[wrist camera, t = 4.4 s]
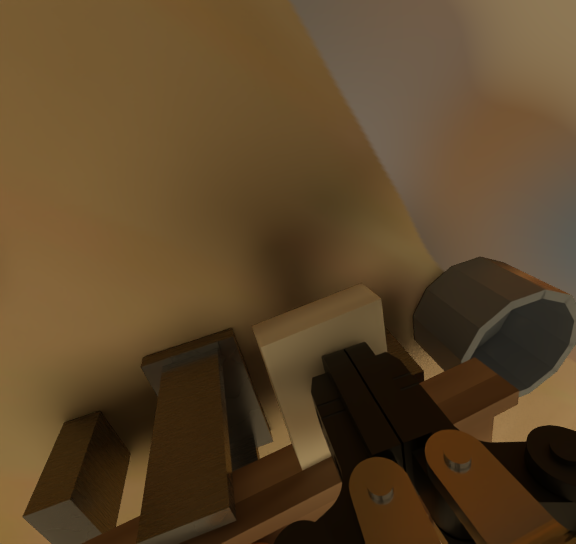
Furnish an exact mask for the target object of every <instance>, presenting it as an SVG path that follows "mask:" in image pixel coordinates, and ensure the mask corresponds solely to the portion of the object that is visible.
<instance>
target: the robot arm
mask: <svg viewBox="0 0 576 544" xmlns="http://www.w3.org/2000/svg"><path fill="white" fill-rule="evenodd" d="M321 358H322V362H323V366H324V371H325V373H324V374H321V375H318V376H315V377H312V385H311V395H312V398H313V402H314V406H315V410H316V413H317V417H318V421H319V424H320V427H321V430H322V432H323V435H324V437H325V440H326V443H327V445H328V448H329V451H330V453H331V456H332V458H333V461H334V464H335V466H336V469H337V472H338V474H339V477H340V480H341V482H342V487H341V491H340V494H339V496H338V498H337V500H336V501H335V503H334V504H333V505H332V507H331V508H330V509H329V510H328V511H326V512H325V513H324V514H323V515H322V516H321V517H320V518H319V519H318V520H317V521H316V522H313V521H310V520H300V521H296V522H293V523H291V524H290V525H288V526H287V527H285V528H284V529H283V530H282V531H281V532H280V533H279V535H278V536H277V538H276V539H275V542H274V544H441V543H442V544H576V431H573V430H570V429H567V428H564V427H560V426H551V425H547V426H541V427H537V428H535V429H533V430H532V431H531V432H530V433H529V435H528V437H527V441H526V442H498V443H495V442H484V441H480V440H477V439H476V438H474V437H473V436H471V435H469V434H467V433H465V432H462V431H460V430H459V429H457V428H456V427H455V426H454V425H453V424H452V423H451V421H450V420H449V419H448V418H447V416H446V415H445V414H444V413H443V412H442V410H441V409H440V408H439V407H438V405H437V404H436V403H435V402H434V401H433V399H432V398H431V397H430V396H429V394H428V393H427V392H426V391H425V390H424V388H423V387H422V386H421V385H419V383H418V381H417V380H416V379H415V377H414V376H413V375H411V373H410V371H409V370H408V369H407V368H406V366H405V365H404V364H403V363H402V361H401V360H400V359H398V358H396V357H394V356H393V355H391V354H389V353H387V352H384V353H381V354H378V355H375V354H374V352H373V351H372V350H371V348H370V347H369V346H368V344H367V343H366V342H362V343H359V344H356V345H353V346H350V347H347V348H344V349H342V350H339V351H336V352H333V353H330V354H327V355H324V356H322V357H321ZM419 495H420V497H421V499H422V501H423V502H424V504H425V506H426V508H427V509H428V515H429V517H428V515H427V513H426V511H425V509H424V507H423V505H422V503H421V501H420V499H419V497H418V496H419ZM440 541H441V542H440Z"/></svg>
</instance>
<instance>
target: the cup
mask: <svg viewBox="0 0 576 544" xmlns="http://www.w3.org/2000/svg"><path fill="white" fill-rule="evenodd" d="M413 321H414V337H415V341H416V342H417V343H418V344H419V345H420V346H421V347H422V348H423V349H424V350H425V351H426V352H427V353H428V354H429V355H430V356H431V357H432V358H433V359H434V361H435V362H436V363H437V364H438V365H439V366H440V367H441V368H442V369H443V370H444V371H447V370H449V369H451V368H453V367H455V366H457V365H459V364H461V363H464V362H466V361H468V360H470V359H472V358H474V357H475V358H477V359H478V360H479V361H481V362H482V363H483V364H485V365H486V366H487V367H489V368H490V369H491V370H493V371H494V372H495V373H497V374H498V375H499V376H501V377H502V378H503V379H505V380H506V381H507V382H509V383H510V384H511V385H513V386H514V387H515V388H517V389H518V390H519V397H521V396H523V395H526V394H529V393H530V392H532V391H533V390H534V389H535V388H537V387H538V386H539V385H540V384H542V383H543V382H544V381H545V380H547V379H548V378H549V377H550V376H552V375H553V374H554V373H555V372H557V370H558V369H559V368H560V366H561V365H562V363H563V362H564V360H565V359H566V358H567V356H568V355H569V353H570V352H571V350H572V349H573V347H574V346H575V345H576V302H575V300H574V298H573V296H572V295H570V294H568V293H566V292H564V291H562V290H560V289H558V288H556V287H553V286H551V285H549V284H547V283H545V282H543V281H541V280H539V279H537V278H535V277H533V276H531V275H528V274H526V273H524V272H522V271H520V270H518V269H516V268H514V267H512V266H510V265H508V264H506V263H503V262H500V261H496V260H492V259H488V258H484V257H478V258H475V259H472V260H469V261H466V262H463V263H460V264H457V265H454V266H451V267H450V268H449V269H448V270H447V271H446V272H444V273H443V274H442V275H441V276H440V277H439V278H438V279H437V280H435V281H434V282H433V283H432V284H431V285H430V286H429V287H428V288H427V289H426V290H425V293H424V295H423V297H422V299H421V301H420V303H419V305H418V307H417V309H416V311H415V313H414V315H413Z"/></svg>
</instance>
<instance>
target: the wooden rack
mask: <svg viewBox="0 0 576 544" xmlns="http://www.w3.org/2000/svg"><path fill="white" fill-rule="evenodd" d="M385 336H386V345H387V353H389V354H391V355H393V356H394V357H396V358H398V359H400V360H401V361H402V363H403V364H404V365H405V366H406V368H407V369H408V370H409V371H410V373H411V375H413V376H414V377H415V379H416V380H417V381H418V383H421V382H423V381H424V371H423V370H422V369H421V367H420V366H419V365H418V364H417V363H416V362H415V361H414V359H413V358H412V357H411V356H410V355H409V354H408V353H407V352H406V350H405V349H404V348H403V347H402V346H401V345H400V344H399V342H398V341H397V340H396V339H395V338H394V337H393V336H392V334H391V333H390V332H389V331H388V330H387V329H386V328H385ZM141 369H142V370H143V372H144V374H145V376H146V377H147V379H148V381H149V383H150V384H151V386H152V388H153V390H154V391H155V393H156V395H157V396H158V400H157V407H156V414H155V420H154V427H153V434H152V441H151V447H150V454H149V461H148V467H147V474H146V481H145V488H144V494H143V501H142V508H141V514H140V521H139V528H138V535H137V541H136V544H179V543H181V542H184V541H186V540H189V539H191V538H194V537H196V536H199V535H201V534H204V533H206V532H209V531H212V530H214V529H217V528H219V527H222V526H224V525H227V524H229V523H232V522H234V521H237V520H236V509H235V498H234V487H233V476H232V472H233V471H236V470H238V469H240V468H242V467H244V466H246V465H248V464H250V463H252V462H255V461H257V460H259V459H260V457H259V452H258V447H260V446H262V445H265V444H268V443H270V442H273V439H272V435H271V431H270V428H269V426H268V423H267V420H266V418H265V415H264V412H263V410H262V407H261V404H260V402H259V399H258V396H257V394H256V391H255V389H254V386H253V383H252V381H251V378H250V375H249V373H248V370H247V367H246V365H245V362H244V360H243V357H242V354H241V352H240V349H239V346H238V344H237V341H236V338H235V336H234V333H233V331H232V328H231V329H228V330H225V331H222V332H219V333H216V334H213V335H210V336H207V337H204V338H201V339H197V340H194V341H191V342H188V343H185V344H182V345H179V346H176V347H173V348H170V349H167V350H164V351H161V352H158V353H155V354H152V355H149V356H146V357H143V359H142V364H141ZM130 455H131V454H130V452H129V451H128V449H127V448H126V447H125V445H124V444H123V442H122V441H121V440H120V438H119V437H118V435H117V434H116V433H115V431H114V430H113V428H112V427H111V425H110V424H109V423H108V421H107V420H106V418H105V417H104V416H103V414H102V413H101V411H98V412H95V413H92V414H89V415H86V416H83V417H80V418H77V419H74V420H71V421H68V422H66V423H64V424H63V426H62V429H61V431H60V433H59V435H58V438H57V440H56V442H55V444H54V447H53V449H52V451H51V454H50V456H49V458H48V460H47V463H46V465H45V467H44V469H43V472H42V474H41V476H40V478H39V481H38V483H37V485H36V487H35V490H34V492H33V494H32V496H31V499H30V501H29V503H28V505H27V508H26V510H25V512H24V514H23V518H24V519H25V520H26V521H27V522H28V523H30V524H31V525H32V526H33V527H34V528H35V529H36V530H37V531H38V532H39V533H41V534H42V535H43V536H44V537H45V538H46V539H47V540H48V541H49V542H51V543H52V544H82V543H84V542H86V541H88V540H90V539H92V538H94V537H96V536H98V535H101V534H103V533H105V532H107V531H109V530H111V529H113V528H115V527H116V523H117V518H118V513H119V509H120V504H121V499H122V494H123V489H124V484H125V479H126V474H127V470H128V465H129V460H130Z"/></svg>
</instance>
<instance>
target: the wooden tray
mask: <svg viewBox="0 0 576 544" xmlns="http://www.w3.org/2000/svg"><path fill="white" fill-rule="evenodd" d="M252 329H253V332H254V335H255V338H256V341H257V344H258V347H259V350H260V353H261V356H262V358H263V361H264V364H265V367H266V370H267V373H268V376H269V379H270V382H271V385H272V388H273V390H274V393H275V396H276V399H277V402H278V405H279V408H280V411H281V414H282V417H283V420H284V422H285V425H286V428H287V431H288V434H289V437H290V440H291V443H292V444H290V445H288V446H286V447H284V448H282V449H280V450H278V451H276V452H274V453H271V454H269V455H267V456H265V457H263V458H261V459H259V460H257V461H255V462H252V463H250V464H248V465H246V466H244V467H242V468H240V469H238V470H236V471H233V472H232V476H233V487H234V498H235V509H236V520H237V521H234V522H232V523H229V524H227V525H224V526H222V527H219V528H217V529H214V530H212V531H209V532H206V533H204V534H201V535H199V536H196V537H194V538H191V539H189V540H186V541H184V542H181V543H179V544H251V543H256V542H262V543H268V544H274V542H275V539H276V538H277V536H278V535H279V533H280V532H281V531H282V530H283V529H284V528H285V527H287V526H288V525H290V524H291V523H293V522H296V521H300V520H310V521H313V522H316V521H317V520H318V519H319V518H320V517H321V516H322V515H323V514H324V513H325V512H326V511H328V510H329V509H330V508H331V507H332V505H333V504H334V503H335V501H336V500H337V498H338V496H339V494H340V491H341V487H342V482H341V480H340V477H339V474H338V472H337V469H336V466H335V464H334V461H333V458H332V456H331V453H330V451H329V448H328V445H327V443H326V440H325V437H324V435H323V432H322V430H321V427H320V424H319V421H318V417H317V413H316V410H315V406H314V402H313V398H312V395H311V385H312V377H315V376H318V375H321V374H324V373H325V371H324V366H323V362H322V358H321V357H322V356H324V355H327V354H330V353H333V352H336V351H339V350H342V349H344V348H347V347H350V346H353V345H356V344H359V343H362V342H366V343H367V344H368V346H369V347H370V348H371V350H372V351H373V352H374V354H375V355H378V354H381V353H384V352H387V345H386V336H385V327H384V318H383V309H382V301H381V298H380V297H379V296H377V295H376V294H375V293H374V292H372V291H371V290H370V289H369V288H367V287H366V286H365V285H364V284H362V283H360V284H357V285H355V286H352V287H350V288H347V289H345V290H342V291H340V292H337V293H334V294H332V295H329V296H327V297H324V298H322V299H319V300H316V301H314V302H311V303H309V304H306V305H304V306H301V307H299V308H296V309H293V310H291V311H288V312H286V313H283V314H281V315H278V316H276V317H273V318H270V319H268V320H265V321H263V322H260V323H258V324H255V325H253V326H252ZM419 385H421V386H422V387H423V388H424V390H425V391H426V392H427V393H428V394H429V396H430V397H431V398H432V399H433V401H434V402H435V403H436V404H437V405H438V407H439V408H440V409H441V410H442V412H443V413H444V414H445V415H446V416H447V418H448V419H449V420H450V421H451V423H452V424H453V425H454V426H455V427H456V428H457V429H459V430H460V431H462V432H465V433H467V434H469V435H471V436H473V437H474V438H476V439H477V440H480V441H484V442H492V431H493V420H494V416H496V415H498V414H500V413H502V412H504V411H506V410H508V409H510V408H512V407H513V406H515V405H517V404H518V398H519V390H518V389H517V388H515V387H514V386H513V385H511V384H510V383H509V382H507V381H506V380H505V379H503V378H502V377H501V376H499V375H498V374H497V373H495V372H494V371H493V370H491V369H490V368H489V367H487V366H486V365H485V364H483V363H482V362H481V361H479V360H478V359H477V358H475V357H474V358H472V359H470V360H468V361H466V362H464V363H461V364H459V365H457V366H455V367H453V368H451V369H449V370H447V371H445V372H442V373H440V374H438V375H436V376H434V377H432V378H430V379H428V380H426V381H423V382H421V383H419ZM418 497H419V499H420V501H421V503H422V505H423V507H424V509H425V511H426V513H427V515H428V509H427V508H426V506H425V504H424V502H423V501H422V499H421V497H420V495H419V496H418ZM428 517H429V515H428ZM139 521H140V516H138V517H136V518H134V519H132V520H130V521H128V522H126V523H124V524H122V525H119V526H117V527H115V528H113V529H111V530H109V531H107V532H105V533H103V534H101V535H98V536H96V537H94V538H92V539H90V540H88V541H86V542H84V543H82V544H136V541H137V535H138V528H139Z"/></svg>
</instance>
